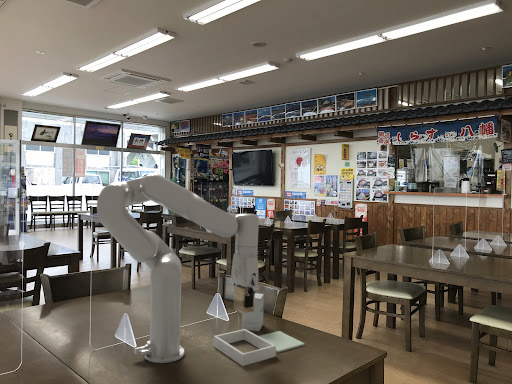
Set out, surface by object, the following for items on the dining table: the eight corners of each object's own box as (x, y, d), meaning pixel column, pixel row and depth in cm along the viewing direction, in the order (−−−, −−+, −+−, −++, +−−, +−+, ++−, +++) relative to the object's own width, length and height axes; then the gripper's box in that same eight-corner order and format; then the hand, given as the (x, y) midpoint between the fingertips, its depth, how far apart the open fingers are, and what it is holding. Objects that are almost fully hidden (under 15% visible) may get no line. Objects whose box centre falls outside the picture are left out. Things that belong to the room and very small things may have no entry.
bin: (242, 366, 122) (242, 354, 122) (213, 346, 137) (213, 335, 137) (275, 356, 130) (275, 345, 129) (244, 338, 144) (245, 328, 144)
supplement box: (259, 331, 152) (260, 298, 151) (241, 329, 153) (241, 297, 153) (263, 325, 159) (264, 293, 159) (245, 323, 160) (246, 292, 160)
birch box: (241, 313, 129) (242, 289, 129) (233, 309, 133) (234, 285, 133) (254, 311, 132) (255, 287, 132) (246, 307, 136) (247, 283, 136)
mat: (277, 352, 133) (277, 350, 133) (253, 338, 144) (253, 337, 144) (304, 345, 140) (304, 343, 140) (279, 332, 151) (279, 330, 151)
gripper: (223, 247, 137) (221, 299, 138) (251, 255, 123) (249, 313, 124) (241, 246, 142) (239, 297, 142) (270, 254, 128) (268, 310, 128)
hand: (243, 304), depth 133 cm, fingers closed on birch box, 5 cm apart
